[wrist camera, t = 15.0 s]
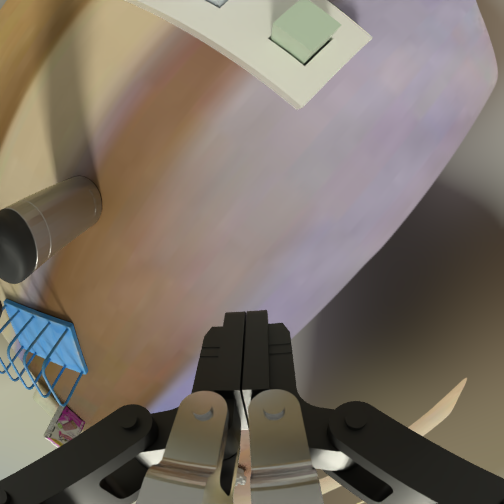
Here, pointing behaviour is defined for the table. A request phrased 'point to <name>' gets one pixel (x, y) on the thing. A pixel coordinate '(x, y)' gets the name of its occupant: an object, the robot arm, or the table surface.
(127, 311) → the table surface
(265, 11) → the white flat bar
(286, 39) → the key sage
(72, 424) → the candy bar box
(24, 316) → the file sorter
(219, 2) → the key grey
